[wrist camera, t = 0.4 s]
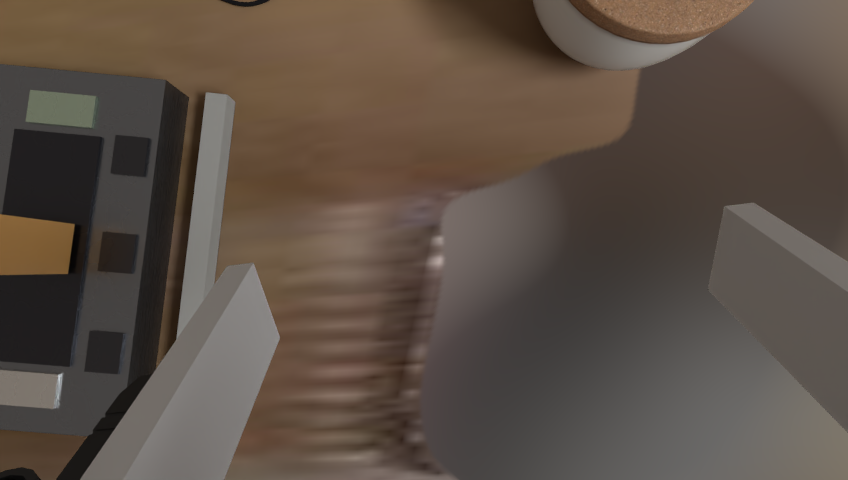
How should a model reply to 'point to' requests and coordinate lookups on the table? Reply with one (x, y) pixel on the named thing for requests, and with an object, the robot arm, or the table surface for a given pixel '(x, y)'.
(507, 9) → the table surface
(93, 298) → the grey control panel
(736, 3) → the lidded bowl
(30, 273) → the orange rectangular block
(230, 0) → the multimeter
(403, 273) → the table surface
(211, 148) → the light grey rod
